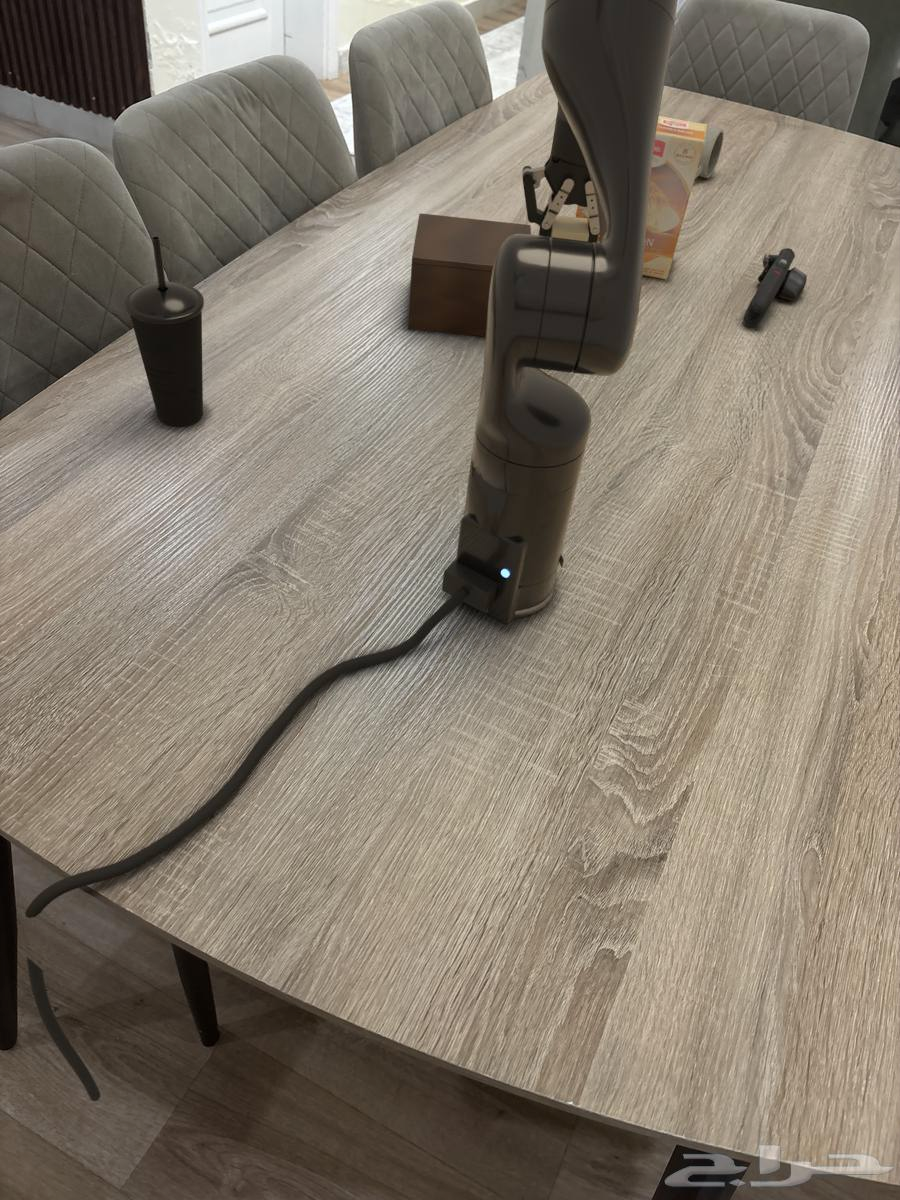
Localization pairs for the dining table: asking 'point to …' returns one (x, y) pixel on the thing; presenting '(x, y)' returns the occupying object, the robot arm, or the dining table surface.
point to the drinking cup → (170, 344)
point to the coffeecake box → (668, 190)
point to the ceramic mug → (710, 152)
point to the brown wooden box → (454, 272)
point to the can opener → (775, 284)
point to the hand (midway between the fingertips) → (564, 256)
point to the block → (570, 228)
